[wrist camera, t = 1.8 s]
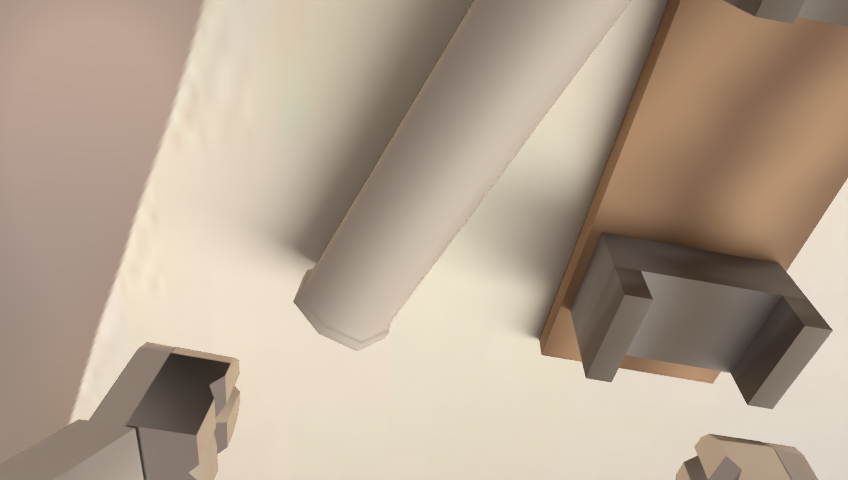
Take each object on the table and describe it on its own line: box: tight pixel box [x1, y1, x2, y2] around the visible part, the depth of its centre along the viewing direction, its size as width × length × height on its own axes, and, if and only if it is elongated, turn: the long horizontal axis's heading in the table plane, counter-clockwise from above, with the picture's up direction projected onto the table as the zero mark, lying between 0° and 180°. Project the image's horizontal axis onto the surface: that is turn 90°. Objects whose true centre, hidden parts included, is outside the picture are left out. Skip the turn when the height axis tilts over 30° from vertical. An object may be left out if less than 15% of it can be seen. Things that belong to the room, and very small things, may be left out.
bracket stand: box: [539, 0, 848, 409], centre depth 23 cm, size 10×28×6 cm, turn 171°
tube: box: [293, 0, 631, 351], centre depth 23 cm, size 5×5×25 cm
